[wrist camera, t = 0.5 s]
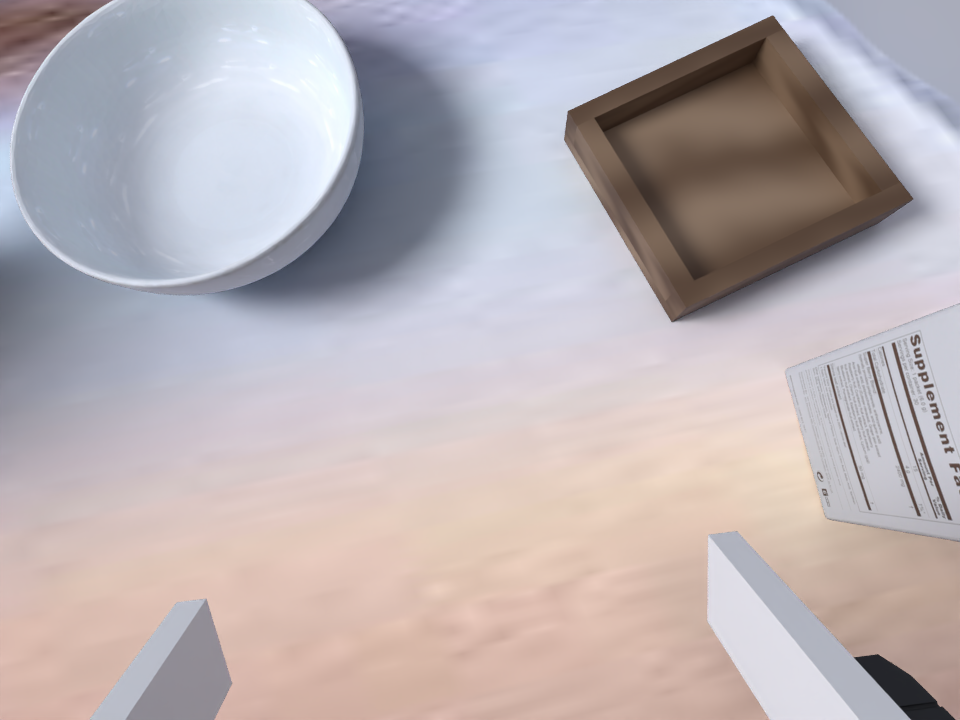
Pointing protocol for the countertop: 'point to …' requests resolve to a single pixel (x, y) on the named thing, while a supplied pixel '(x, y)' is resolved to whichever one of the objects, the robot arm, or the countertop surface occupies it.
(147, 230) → the serving bowl
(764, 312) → the countertop surface
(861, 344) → the supplement box
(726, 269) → the brown wooden tray
